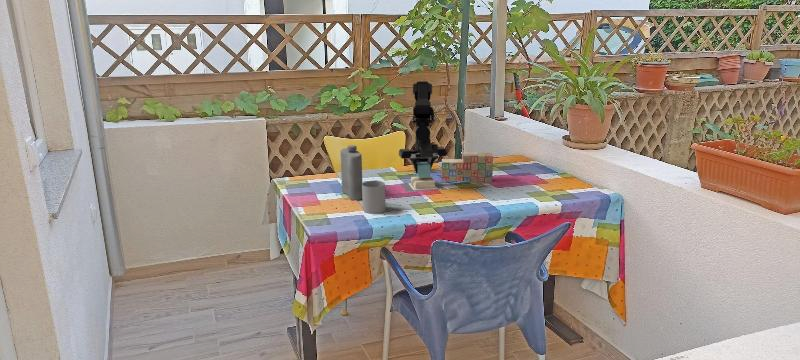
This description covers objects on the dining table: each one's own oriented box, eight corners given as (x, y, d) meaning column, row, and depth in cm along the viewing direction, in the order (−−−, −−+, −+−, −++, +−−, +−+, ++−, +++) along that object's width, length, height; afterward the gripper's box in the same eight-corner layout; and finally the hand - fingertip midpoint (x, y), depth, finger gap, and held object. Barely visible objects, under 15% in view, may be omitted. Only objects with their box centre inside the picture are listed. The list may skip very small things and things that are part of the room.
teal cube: (415, 174, 238) (415, 162, 237) (427, 173, 239) (427, 161, 238) (418, 177, 234) (418, 165, 232) (430, 176, 235) (430, 164, 233)
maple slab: (411, 184, 241) (411, 177, 240) (429, 182, 242) (429, 175, 242) (415, 189, 233) (415, 182, 232) (434, 188, 235) (434, 180, 234)
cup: (362, 206, 216) (361, 181, 214) (384, 206, 217) (384, 180, 214) (363, 214, 208) (362, 187, 206) (386, 213, 209) (385, 186, 206)
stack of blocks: (441, 183, 245) (441, 155, 242) (441, 179, 251) (441, 151, 248) (492, 184, 243) (493, 155, 240) (491, 180, 249) (492, 152, 246)
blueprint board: (400, 185, 242) (400, 183, 242) (437, 183, 245) (437, 180, 245) (407, 194, 231) (407, 191, 231) (445, 191, 234) (445, 188, 234)
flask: (366, 199, 225) (365, 149, 219) (352, 201, 223) (350, 150, 217) (354, 189, 238) (352, 141, 233) (340, 190, 236) (338, 142, 230)
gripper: (404, 140, 223) (404, 180, 227) (451, 138, 226) (450, 176, 231) (398, 135, 233) (398, 172, 237) (443, 132, 237) (442, 169, 241)
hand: (422, 173), depth 236 cm, fingers closed on teal cube, 5 cm apart
